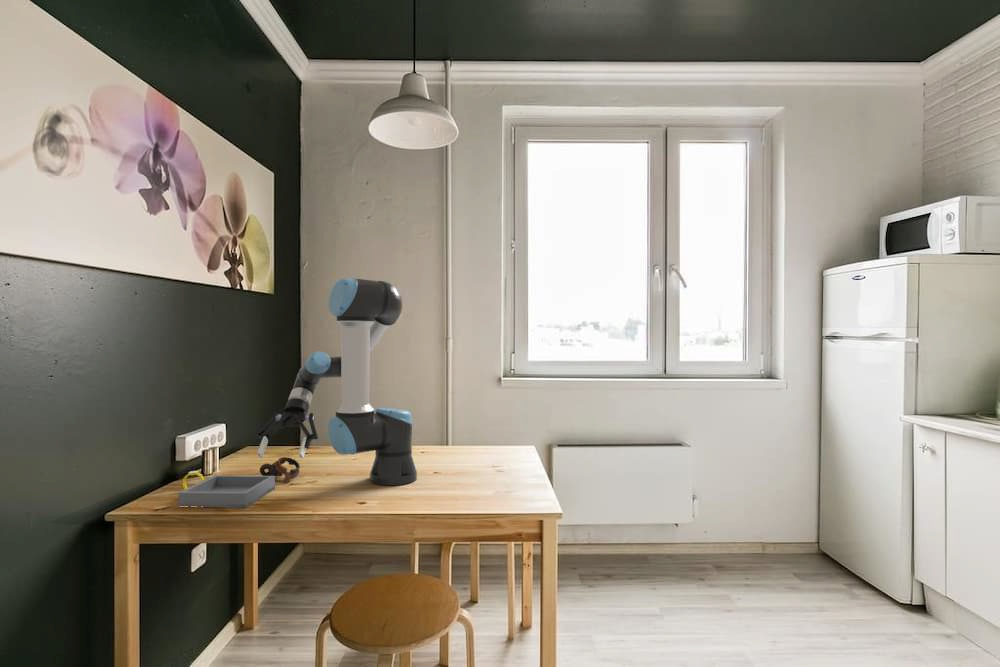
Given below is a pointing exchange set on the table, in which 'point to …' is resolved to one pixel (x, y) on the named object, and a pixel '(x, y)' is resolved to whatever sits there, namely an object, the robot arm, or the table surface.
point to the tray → (227, 491)
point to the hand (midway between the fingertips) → (280, 455)
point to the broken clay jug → (281, 469)
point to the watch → (192, 474)
